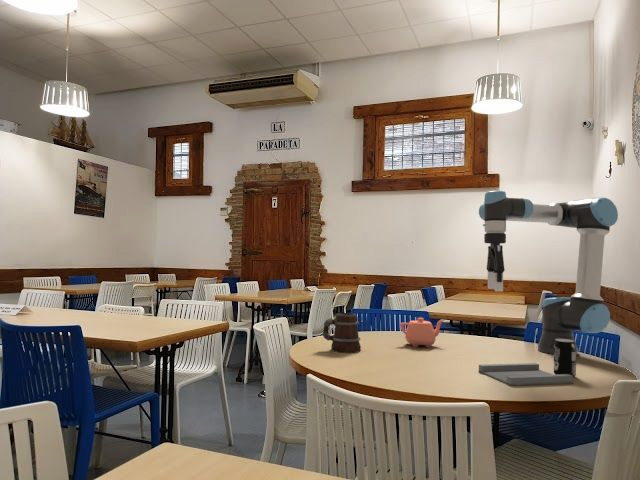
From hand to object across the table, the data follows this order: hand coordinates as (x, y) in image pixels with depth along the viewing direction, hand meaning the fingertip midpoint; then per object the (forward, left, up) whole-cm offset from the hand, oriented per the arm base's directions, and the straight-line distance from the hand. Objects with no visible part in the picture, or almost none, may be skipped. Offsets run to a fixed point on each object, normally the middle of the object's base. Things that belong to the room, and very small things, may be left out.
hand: (495, 290), depth 176 cm
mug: (+50, -32, -28) cm, 65 cm away
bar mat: (+1, +19, -27) cm, 33 cm away
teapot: (+11, -39, -28) cm, 49 cm away
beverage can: (-14, +19, -27) cm, 36 cm away
